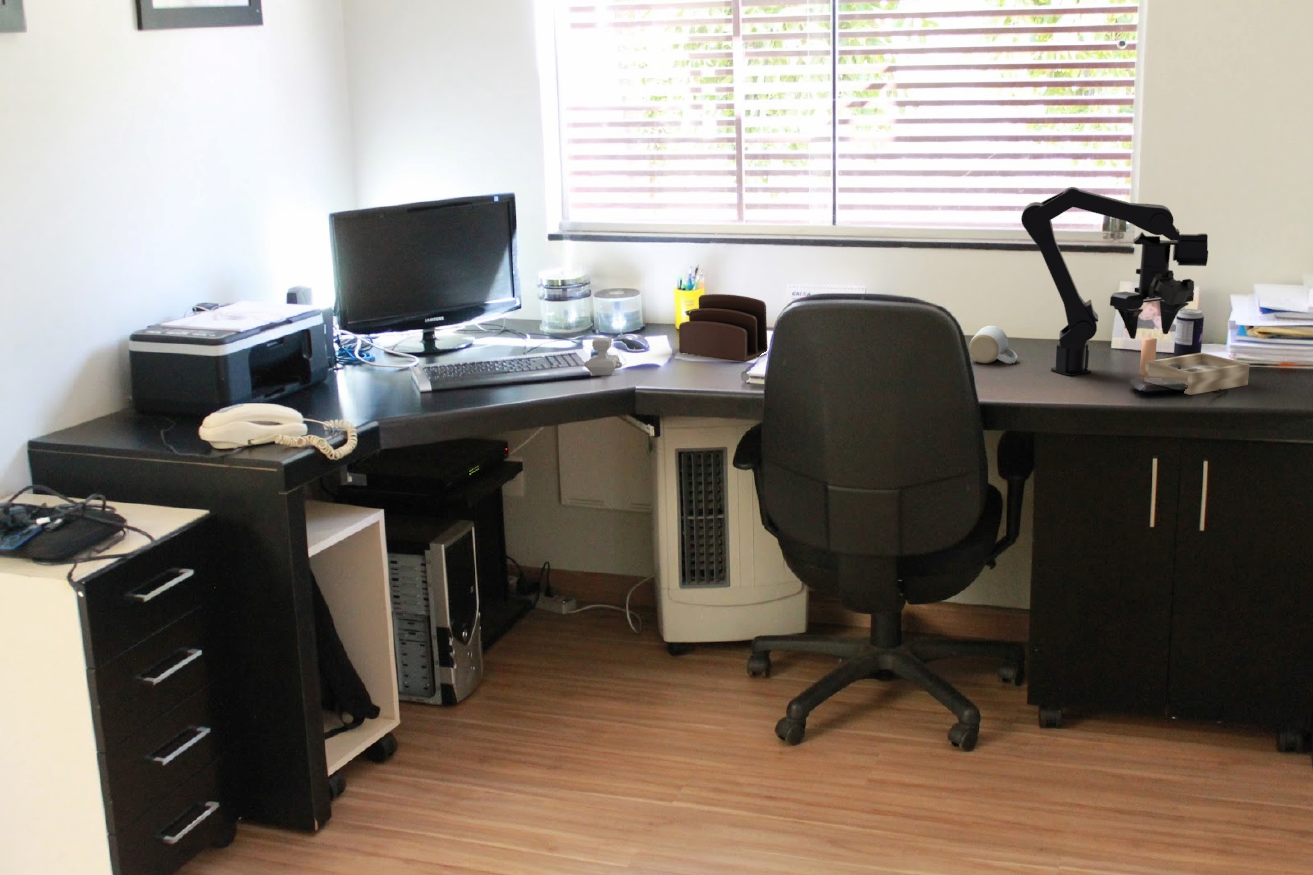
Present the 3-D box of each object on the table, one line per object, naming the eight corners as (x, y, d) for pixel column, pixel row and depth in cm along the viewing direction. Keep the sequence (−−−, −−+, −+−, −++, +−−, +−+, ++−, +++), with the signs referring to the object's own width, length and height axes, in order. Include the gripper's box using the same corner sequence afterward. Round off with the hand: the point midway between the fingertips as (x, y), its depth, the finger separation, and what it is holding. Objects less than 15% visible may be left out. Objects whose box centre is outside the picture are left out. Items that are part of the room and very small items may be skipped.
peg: (1146, 376, 288) (1149, 341, 286) (1136, 374, 290) (1139, 338, 288) (1157, 375, 289) (1159, 339, 287) (1147, 372, 292) (1149, 337, 289)
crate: (1190, 394, 272) (1192, 373, 271) (1144, 381, 284) (1145, 361, 283) (1247, 384, 279) (1249, 364, 277) (1200, 372, 290) (1202, 352, 289)
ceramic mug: (966, 363, 305) (968, 330, 303) (975, 355, 312) (977, 324, 310) (1012, 367, 301) (1014, 334, 299) (1020, 359, 308) (1022, 327, 306)
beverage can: (1202, 366, 295) (1206, 313, 292) (1175, 366, 296) (1179, 313, 293) (1197, 360, 301) (1201, 308, 297) (1171, 360, 302) (1175, 308, 298)
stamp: (625, 370, 310) (623, 335, 307) (619, 377, 303) (618, 341, 301) (587, 370, 311) (585, 335, 309) (581, 377, 305) (579, 341, 302)
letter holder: (701, 346, 333) (700, 291, 329) (768, 354, 322) (767, 297, 318) (678, 354, 326) (677, 297, 322) (746, 362, 314) (745, 304, 310)
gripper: (1149, 274, 272) (1143, 348, 277) (1216, 266, 279) (1209, 338, 284) (1110, 267, 282) (1105, 338, 286) (1176, 259, 289) (1171, 329, 294)
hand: (1149, 336), depth 287 cm, fingers open, 9 cm apart
